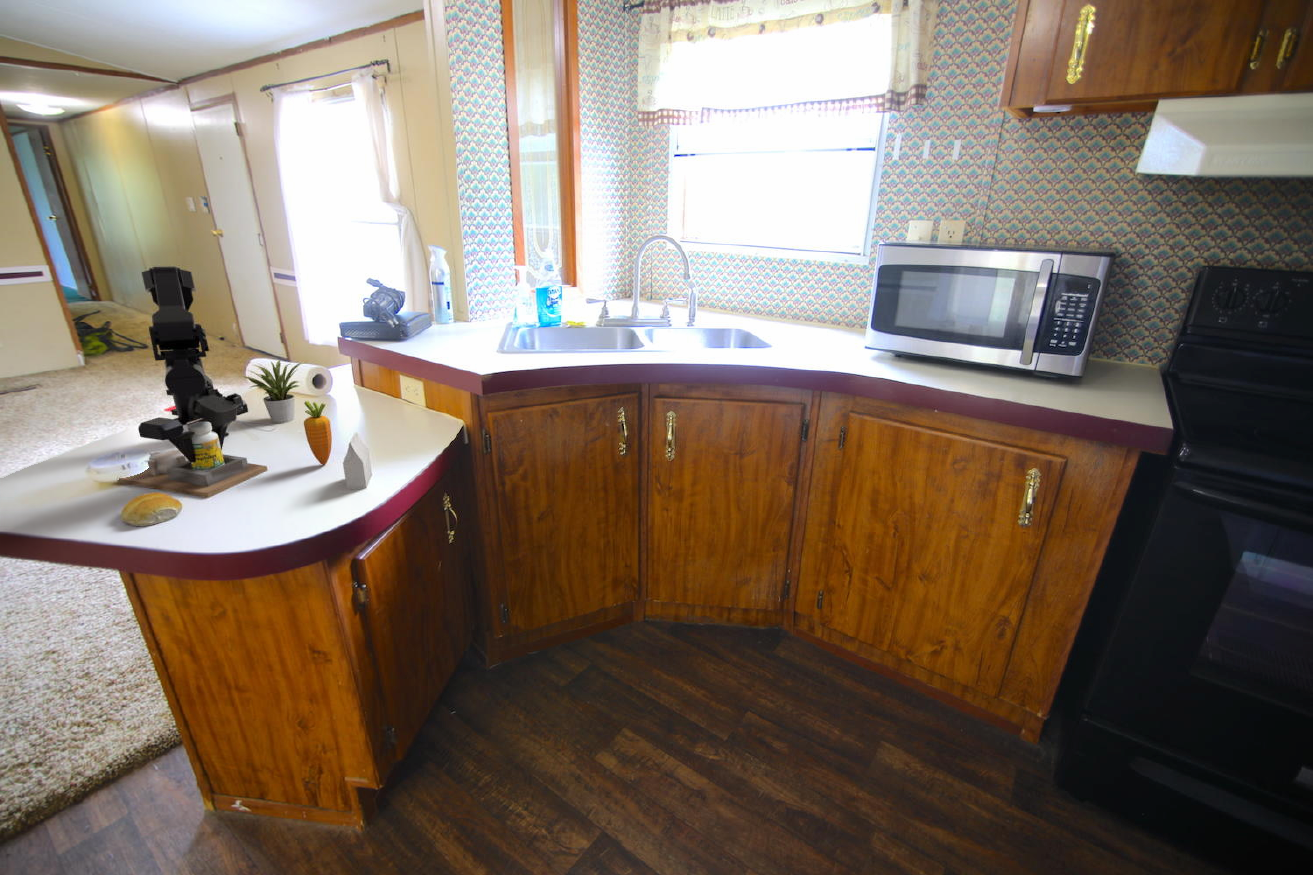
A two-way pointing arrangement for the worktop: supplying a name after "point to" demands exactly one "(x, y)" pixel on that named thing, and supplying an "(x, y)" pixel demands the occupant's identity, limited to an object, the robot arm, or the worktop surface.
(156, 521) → the bread roll
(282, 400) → the house plant
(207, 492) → the carrier plate
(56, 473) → the worktop surface
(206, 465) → the supplement bottle
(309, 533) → the worktop surface
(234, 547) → the worktop surface
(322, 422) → the carrot
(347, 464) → the gray house shaped block
